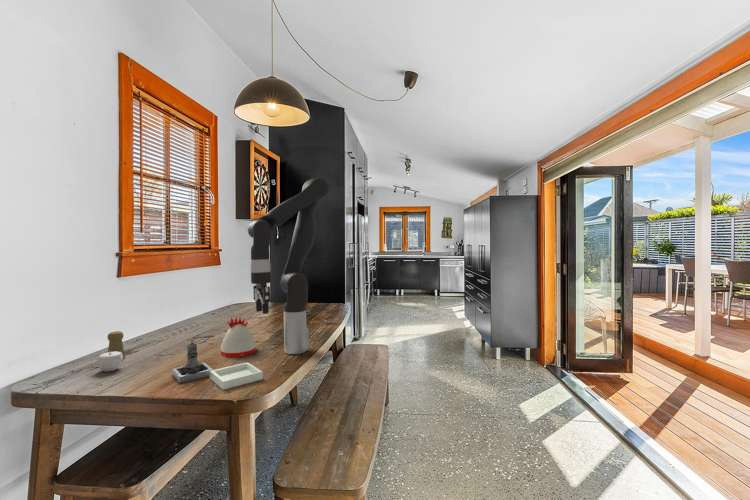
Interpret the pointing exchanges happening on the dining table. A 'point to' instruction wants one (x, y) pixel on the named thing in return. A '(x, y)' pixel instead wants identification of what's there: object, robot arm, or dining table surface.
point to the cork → (116, 342)
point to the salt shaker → (192, 360)
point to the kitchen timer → (238, 340)
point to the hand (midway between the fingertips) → (262, 312)
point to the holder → (177, 373)
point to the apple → (109, 361)
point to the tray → (235, 375)
